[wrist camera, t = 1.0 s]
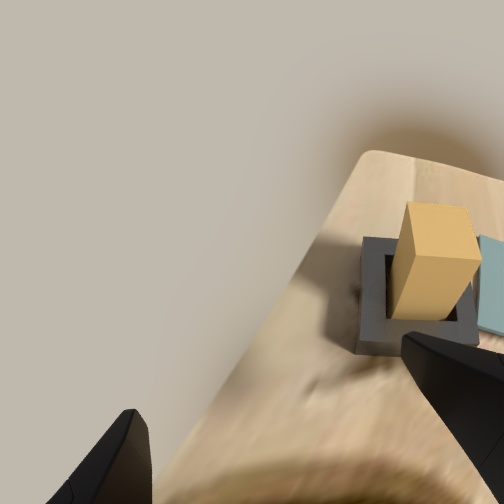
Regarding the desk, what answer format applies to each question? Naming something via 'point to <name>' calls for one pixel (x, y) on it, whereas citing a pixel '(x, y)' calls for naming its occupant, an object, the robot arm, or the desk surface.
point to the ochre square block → (431, 262)
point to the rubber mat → (491, 286)
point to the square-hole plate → (391, 330)
